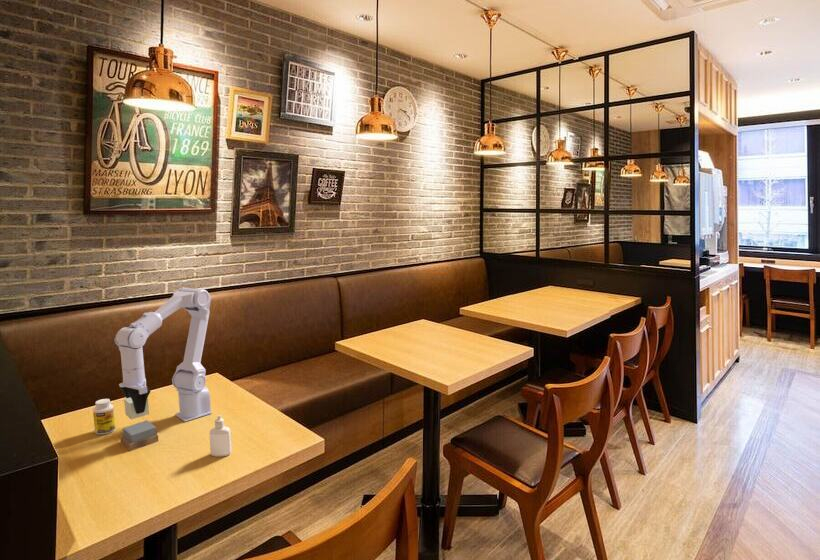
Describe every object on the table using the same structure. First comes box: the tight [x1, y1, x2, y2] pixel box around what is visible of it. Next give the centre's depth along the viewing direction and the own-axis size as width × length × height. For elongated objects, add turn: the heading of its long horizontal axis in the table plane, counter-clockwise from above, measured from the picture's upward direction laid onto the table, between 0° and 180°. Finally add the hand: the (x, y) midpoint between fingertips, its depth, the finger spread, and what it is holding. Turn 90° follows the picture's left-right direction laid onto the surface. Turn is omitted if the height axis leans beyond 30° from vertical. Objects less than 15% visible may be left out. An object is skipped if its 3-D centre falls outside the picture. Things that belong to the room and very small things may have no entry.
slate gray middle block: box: [122, 419, 158, 443], centre depth 149 cm, size 7×7×2 cm
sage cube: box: [123, 397, 150, 420], centre depth 147 cm, size 5×5×5 cm
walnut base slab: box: [120, 434, 160, 452], centre depth 149 cm, size 8×8×2 cm
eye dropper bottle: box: [209, 414, 233, 458], centre depth 142 cm, size 4×6×12 cm
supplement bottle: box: [92, 398, 116, 436], centre depth 155 cm, size 6×6×10 cm
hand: (137, 409), depth 148 cm, fingers closed on sage cube, 5 cm apart
